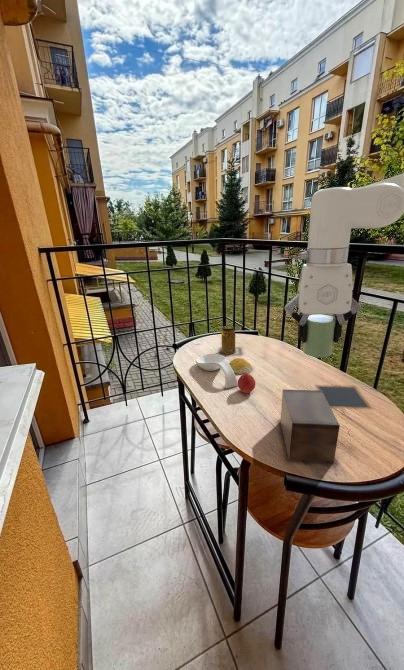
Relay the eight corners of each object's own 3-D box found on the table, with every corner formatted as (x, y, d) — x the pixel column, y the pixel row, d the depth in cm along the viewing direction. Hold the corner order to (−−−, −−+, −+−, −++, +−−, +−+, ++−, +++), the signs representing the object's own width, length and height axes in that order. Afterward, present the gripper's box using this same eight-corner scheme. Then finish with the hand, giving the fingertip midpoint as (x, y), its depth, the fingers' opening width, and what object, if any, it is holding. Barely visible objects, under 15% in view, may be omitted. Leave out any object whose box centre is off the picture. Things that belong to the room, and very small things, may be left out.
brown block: (317, 424, 77) (321, 390, 73) (333, 464, 64) (339, 425, 60) (280, 423, 79) (282, 389, 75) (288, 461, 66) (292, 423, 62)
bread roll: (243, 362, 115) (244, 354, 114) (253, 372, 107) (254, 363, 105) (225, 366, 113) (225, 357, 111) (233, 376, 105) (233, 366, 103)
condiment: (220, 349, 129) (220, 324, 124) (239, 349, 128) (239, 324, 124) (221, 356, 122) (220, 330, 118) (240, 355, 121) (241, 329, 117)
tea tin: (326, 346, 66) (330, 314, 63) (335, 357, 60) (339, 322, 57) (300, 346, 67) (303, 314, 64) (306, 357, 61) (309, 322, 58)
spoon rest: (191, 364, 115) (190, 348, 113) (217, 359, 119) (216, 343, 117) (217, 392, 95) (217, 373, 92) (247, 384, 99) (247, 366, 96)
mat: (353, 389, 93) (353, 387, 93) (367, 408, 83) (368, 407, 83) (319, 388, 95) (319, 386, 95) (328, 407, 85) (329, 405, 84)
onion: (234, 392, 94) (234, 371, 92) (246, 386, 97) (246, 366, 95) (246, 400, 90) (246, 378, 87) (258, 394, 93) (259, 372, 90)
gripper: (285, 261, 54) (281, 347, 60) (381, 257, 52) (366, 346, 58) (279, 257, 61) (276, 334, 67) (364, 253, 59) (352, 334, 65)
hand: (318, 339), depth 62 cm, fingers closed on tea tin, 6 cm apart
